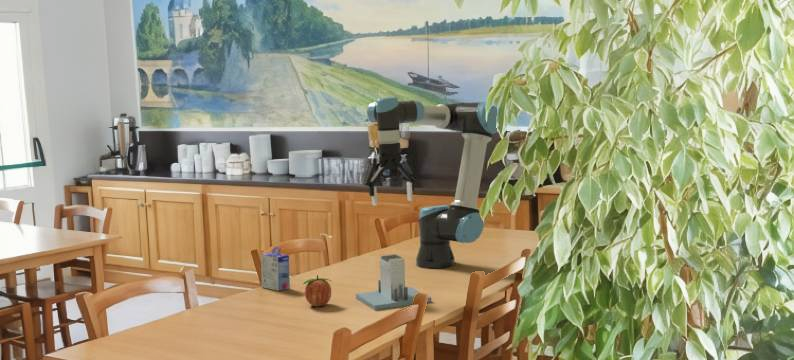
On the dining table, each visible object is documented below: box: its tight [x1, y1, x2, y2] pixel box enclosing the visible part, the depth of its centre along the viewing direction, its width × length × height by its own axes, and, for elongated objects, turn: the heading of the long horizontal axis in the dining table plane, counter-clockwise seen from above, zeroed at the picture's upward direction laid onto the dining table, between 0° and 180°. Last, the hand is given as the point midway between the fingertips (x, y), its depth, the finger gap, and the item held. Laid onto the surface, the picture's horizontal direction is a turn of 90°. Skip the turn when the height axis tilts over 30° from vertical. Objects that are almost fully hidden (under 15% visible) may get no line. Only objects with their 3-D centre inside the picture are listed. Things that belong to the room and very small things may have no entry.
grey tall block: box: [379, 253, 406, 300], centre depth 278 cm, size 5×9×13 cm, turn 23°
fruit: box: [302, 274, 332, 307], centre depth 274 cm, size 9×10×10 cm
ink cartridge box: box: [260, 246, 291, 292], centre depth 299 cm, size 10×6×14 cm, turn 48°
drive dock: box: [355, 279, 432, 311], centre depth 278 cm, size 20×17×6 cm
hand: (392, 203), depth 293 cm, fingers open, 13 cm apart
